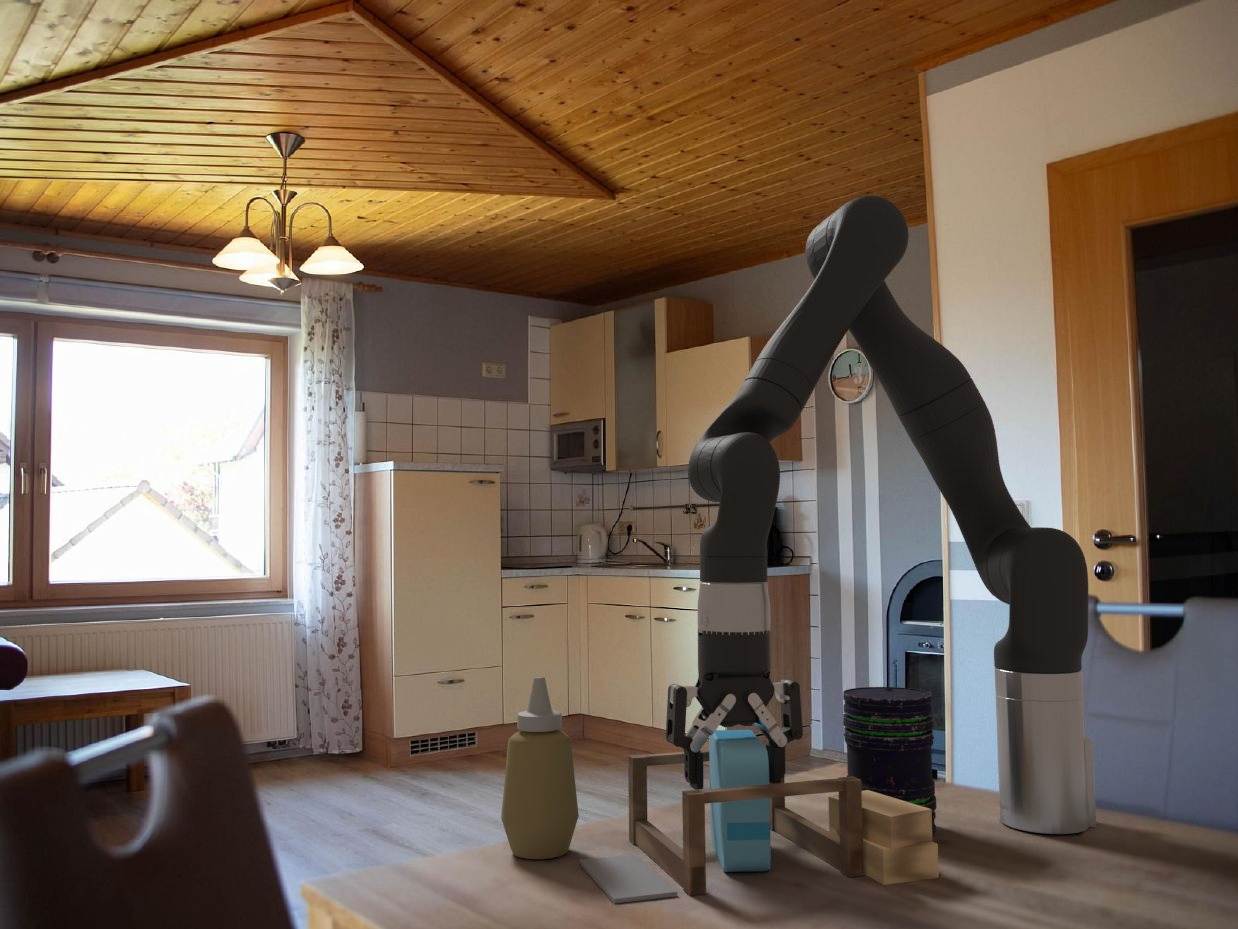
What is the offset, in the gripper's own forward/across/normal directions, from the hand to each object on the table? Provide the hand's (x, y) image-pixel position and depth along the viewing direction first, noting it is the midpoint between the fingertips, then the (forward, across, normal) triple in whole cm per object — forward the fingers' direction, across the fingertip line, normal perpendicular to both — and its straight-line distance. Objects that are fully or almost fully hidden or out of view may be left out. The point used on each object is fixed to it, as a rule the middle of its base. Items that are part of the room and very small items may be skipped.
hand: (735, 785), depth 106 cm
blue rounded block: (+7, 0, 0) cm, 7 cm away
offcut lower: (+7, -13, +7) cm, 16 cm away
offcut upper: (+4, -12, +7) cm, 15 cm away
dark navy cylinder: (+7, -20, -4) cm, 22 cm away
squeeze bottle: (+8, +19, -8) cm, 22 cm away
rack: (+7, 0, 0) cm, 7 cm away
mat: (+7, +13, +3) cm, 15 cm away
